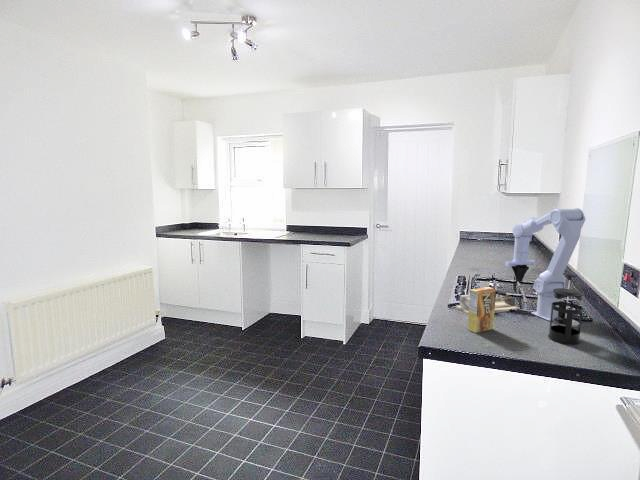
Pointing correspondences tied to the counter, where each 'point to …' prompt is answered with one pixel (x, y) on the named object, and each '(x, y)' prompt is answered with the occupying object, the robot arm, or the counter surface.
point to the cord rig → (500, 304)
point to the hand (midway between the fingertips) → (518, 281)
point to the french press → (565, 316)
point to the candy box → (481, 309)
